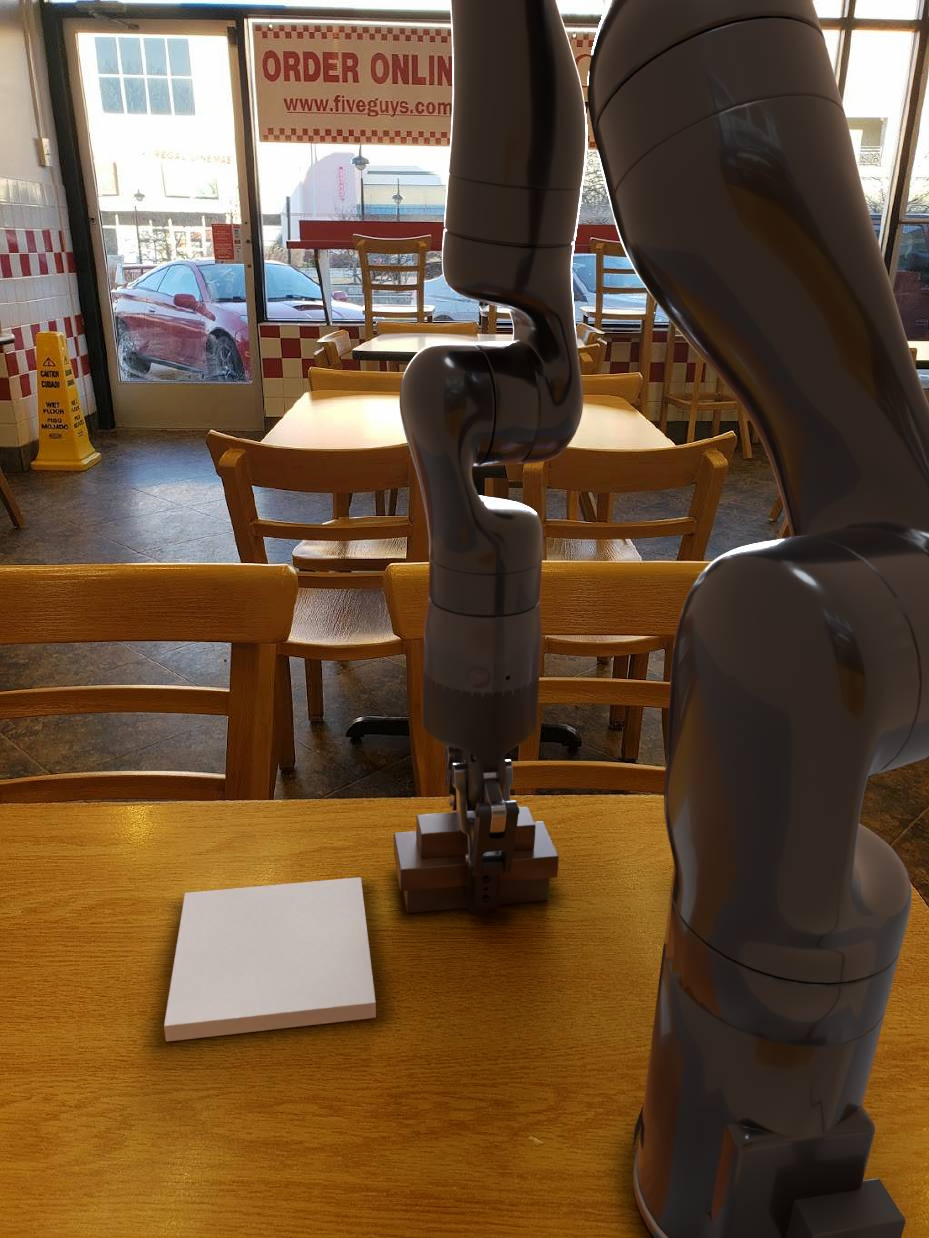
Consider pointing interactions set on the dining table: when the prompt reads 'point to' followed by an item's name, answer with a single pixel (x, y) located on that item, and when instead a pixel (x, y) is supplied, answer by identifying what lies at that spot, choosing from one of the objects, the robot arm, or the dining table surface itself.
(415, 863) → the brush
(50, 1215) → the dining table surface
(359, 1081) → the dining table surface
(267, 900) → the tile
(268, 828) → the dining table surface
